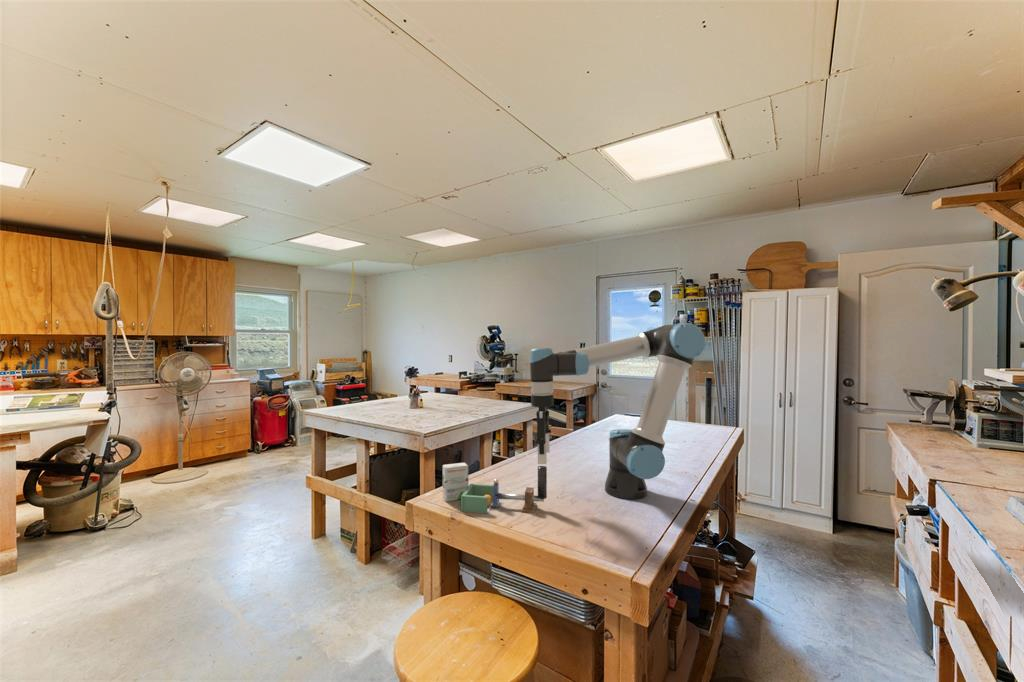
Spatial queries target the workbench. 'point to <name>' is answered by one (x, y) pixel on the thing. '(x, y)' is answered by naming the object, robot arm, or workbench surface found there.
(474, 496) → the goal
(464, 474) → the ink box
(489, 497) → the ball
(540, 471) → the u-shaped post frame
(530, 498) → the bearing block
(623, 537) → the workbench surface
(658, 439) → the robot arm
